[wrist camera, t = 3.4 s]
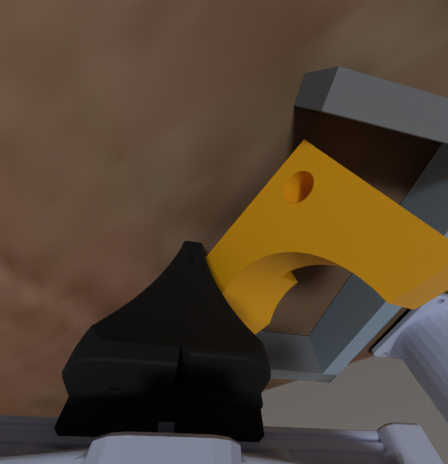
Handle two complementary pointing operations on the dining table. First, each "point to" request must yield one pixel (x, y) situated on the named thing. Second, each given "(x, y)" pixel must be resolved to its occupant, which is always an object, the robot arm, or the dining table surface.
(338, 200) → the pipe clamp
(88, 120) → the dining table surface
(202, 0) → the dining table surface
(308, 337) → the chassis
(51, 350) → the dining table surface
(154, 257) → the dining table surface
